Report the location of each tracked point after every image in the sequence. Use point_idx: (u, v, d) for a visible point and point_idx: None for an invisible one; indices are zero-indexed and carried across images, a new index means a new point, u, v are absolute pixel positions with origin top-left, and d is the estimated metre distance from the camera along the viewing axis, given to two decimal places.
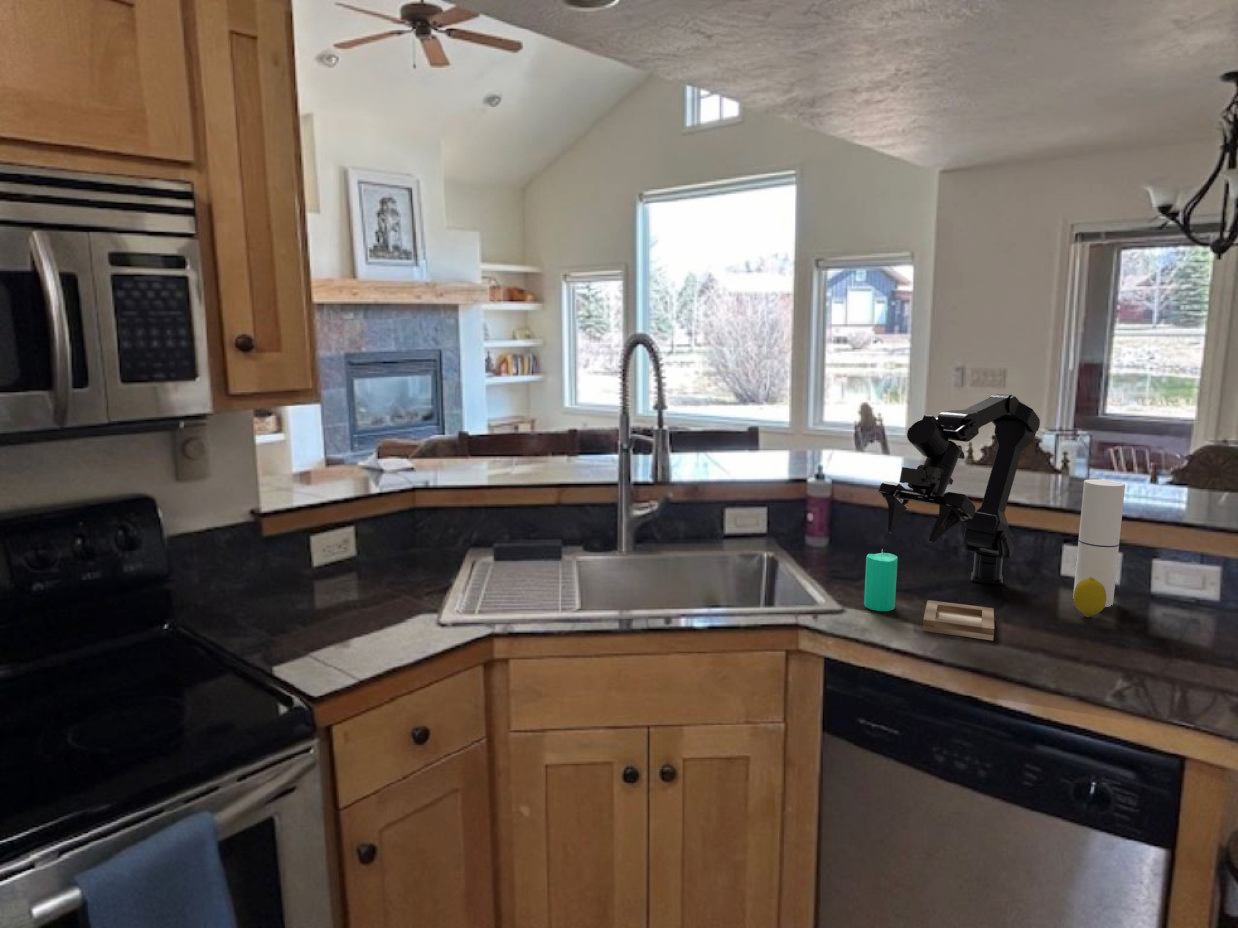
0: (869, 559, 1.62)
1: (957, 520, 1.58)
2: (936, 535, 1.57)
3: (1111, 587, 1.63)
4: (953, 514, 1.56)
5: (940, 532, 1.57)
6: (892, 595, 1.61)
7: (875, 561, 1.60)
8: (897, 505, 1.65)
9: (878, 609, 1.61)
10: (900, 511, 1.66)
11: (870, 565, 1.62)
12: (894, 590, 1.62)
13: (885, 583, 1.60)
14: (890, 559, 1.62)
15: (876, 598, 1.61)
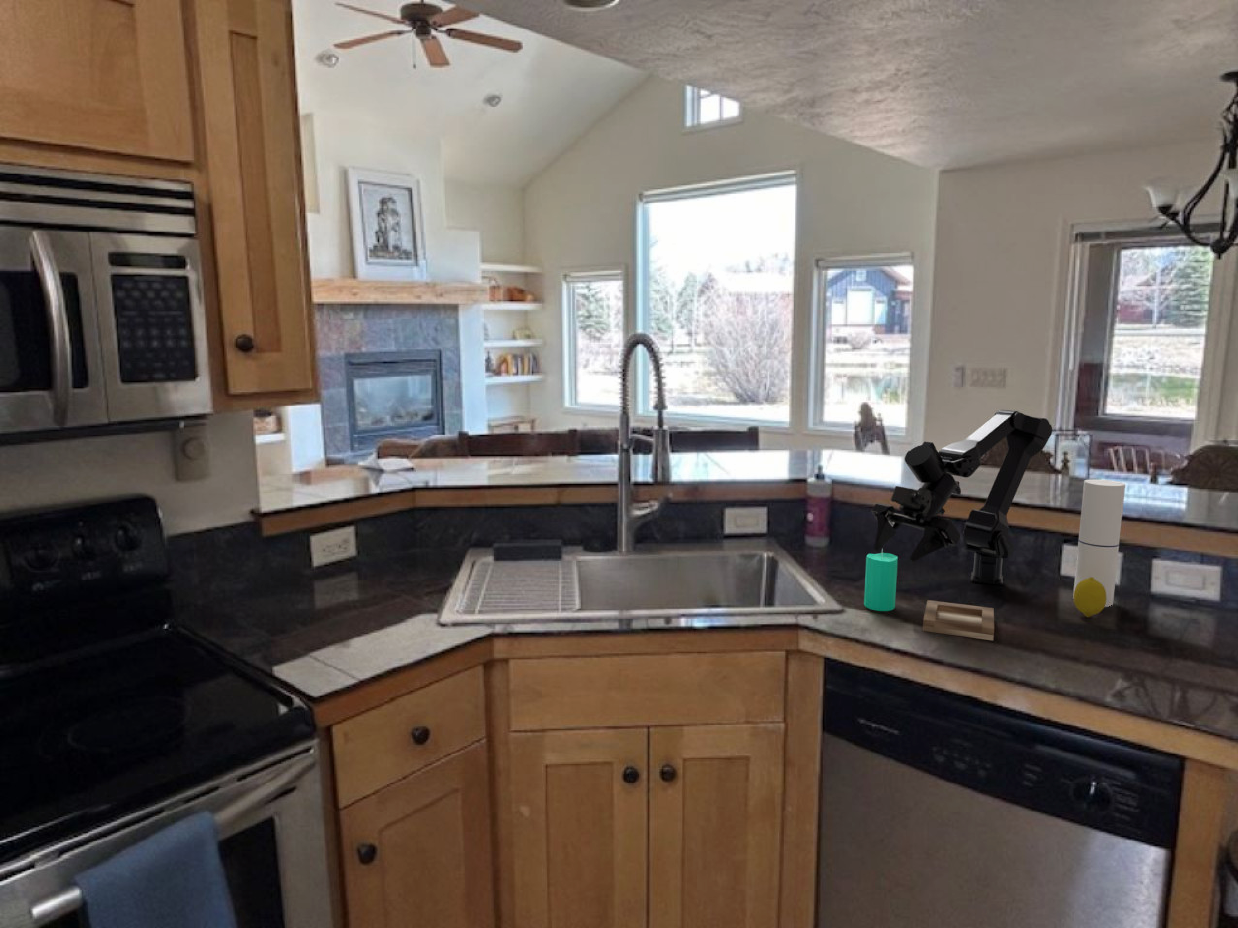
0: (869, 559, 1.62)
1: (941, 546, 1.61)
2: (917, 555, 1.60)
3: (1111, 587, 1.63)
4: (937, 538, 1.60)
5: (922, 553, 1.60)
6: (892, 595, 1.61)
7: (875, 561, 1.60)
8: (887, 526, 1.69)
9: (878, 609, 1.61)
10: (889, 533, 1.70)
11: (870, 565, 1.62)
12: (894, 590, 1.62)
13: (885, 583, 1.60)
14: (890, 559, 1.62)
15: (876, 598, 1.61)
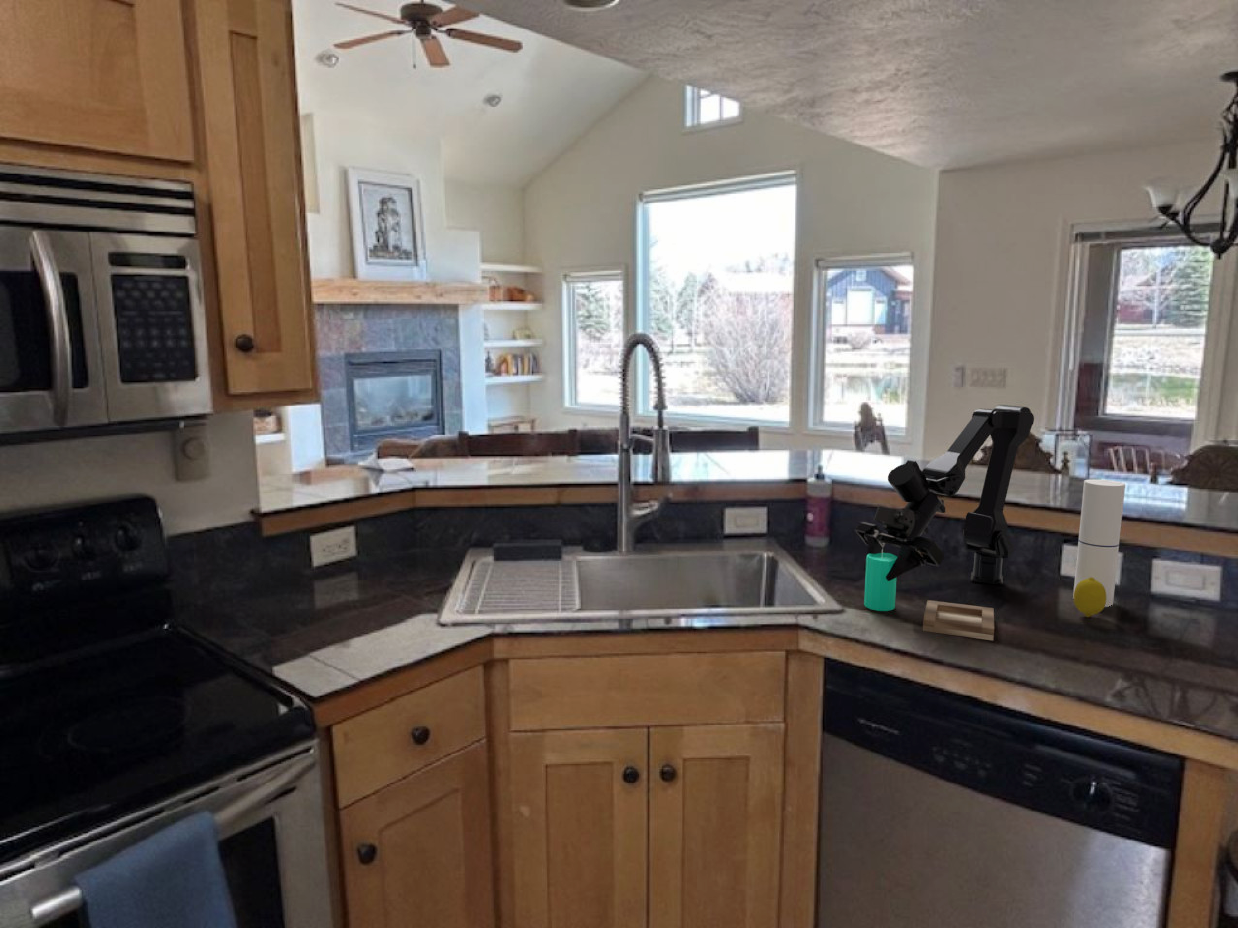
0: (869, 559, 1.62)
1: (917, 564, 1.61)
2: (893, 573, 1.60)
3: (1111, 587, 1.63)
4: (913, 556, 1.60)
5: (898, 572, 1.60)
6: (892, 595, 1.61)
7: (875, 561, 1.60)
8: (877, 547, 1.66)
9: (878, 609, 1.61)
10: None
11: (870, 565, 1.62)
12: (894, 590, 1.62)
13: (885, 583, 1.60)
14: (890, 559, 1.62)
15: (876, 598, 1.61)
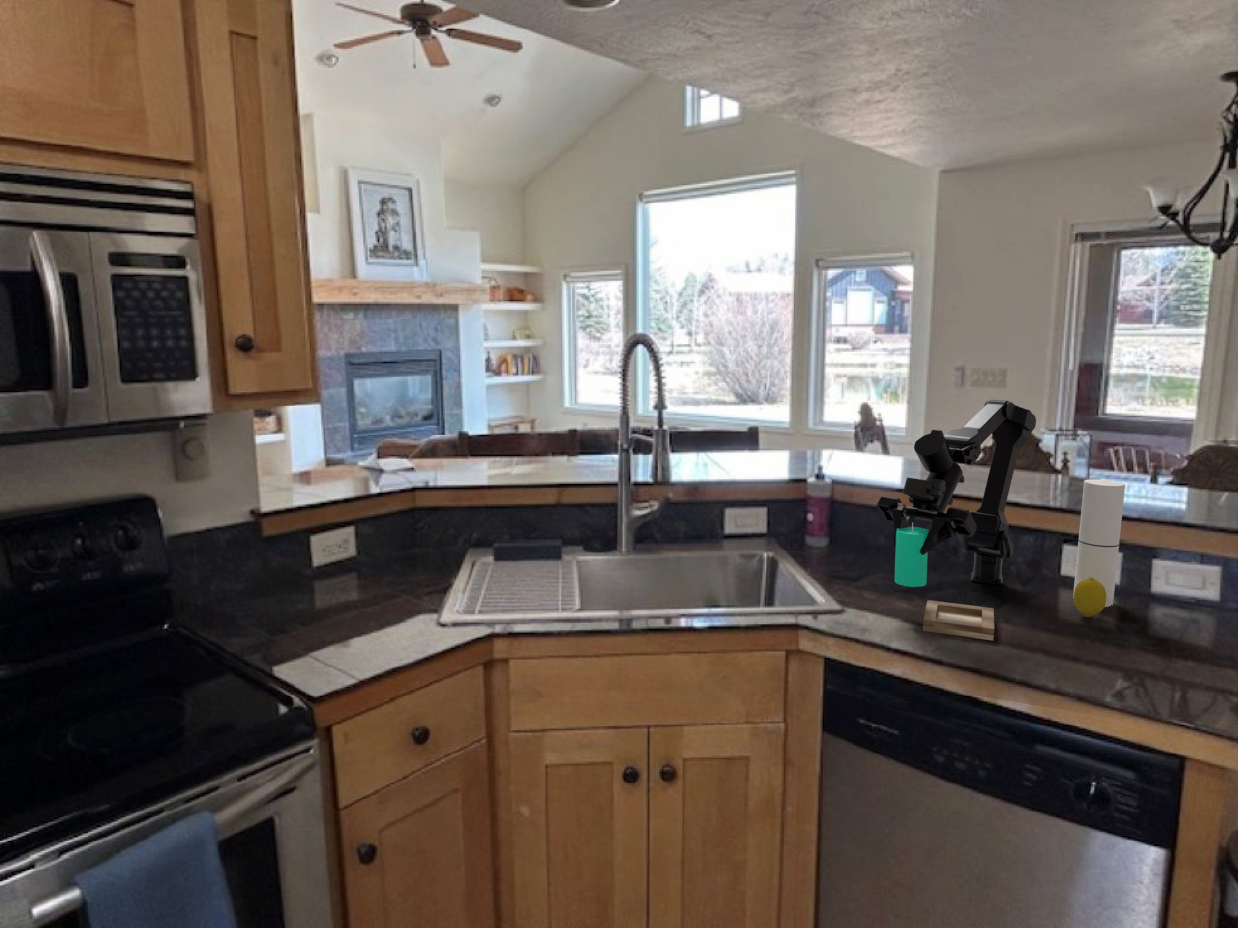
0: (901, 534, 1.55)
1: (948, 536, 1.56)
2: (927, 547, 1.54)
3: (1111, 587, 1.63)
4: (945, 528, 1.55)
5: (931, 545, 1.55)
6: (925, 569, 1.56)
7: (908, 535, 1.54)
8: (903, 521, 1.60)
9: (912, 585, 1.55)
10: None
11: (903, 540, 1.55)
12: (926, 564, 1.57)
13: (919, 558, 1.55)
14: (921, 532, 1.56)
15: (910, 574, 1.55)
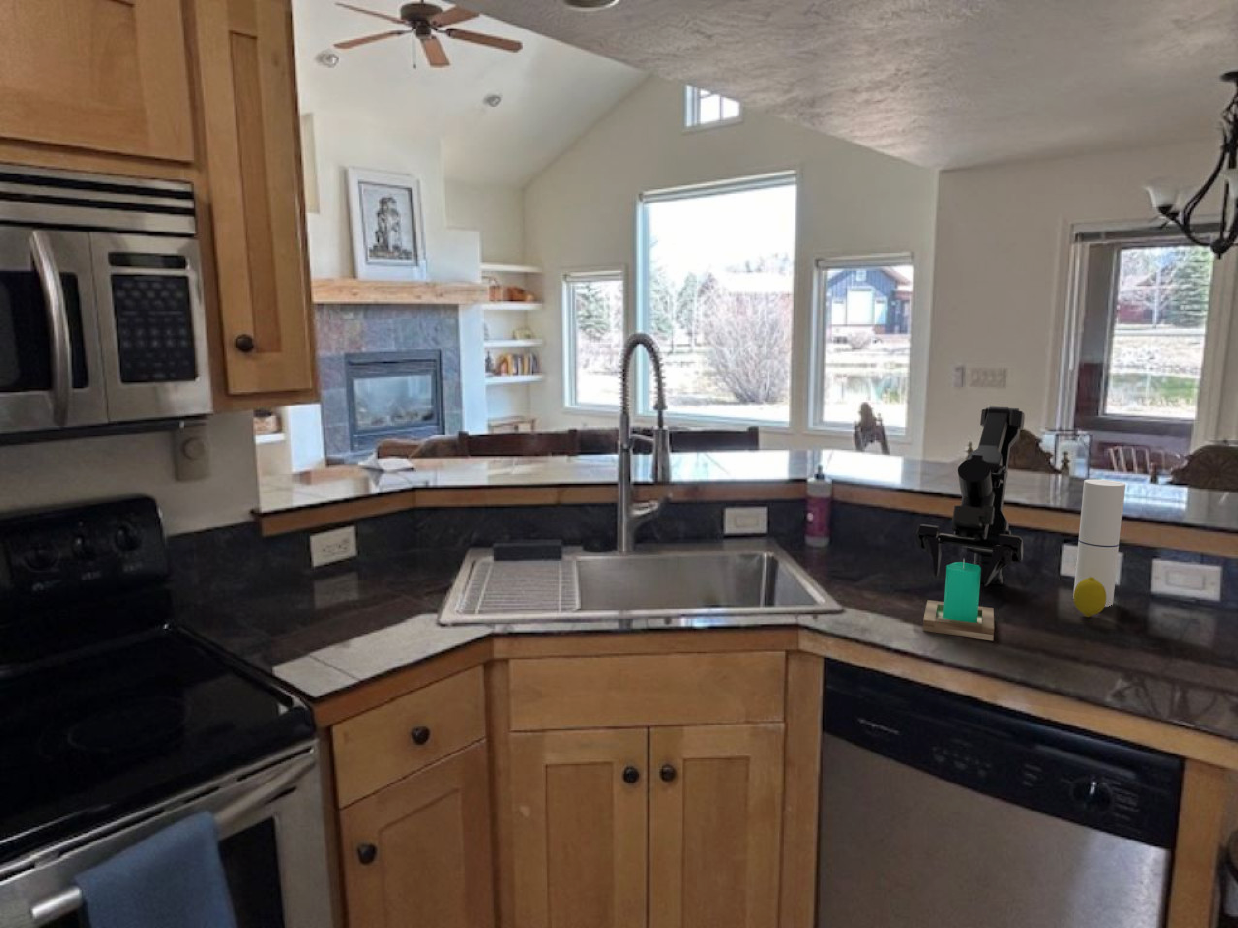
0: (957, 571, 1.50)
1: (1004, 564, 1.52)
2: (990, 578, 1.49)
3: (1111, 587, 1.63)
4: (1004, 557, 1.51)
5: (993, 575, 1.50)
6: (977, 606, 1.52)
7: (965, 573, 1.49)
8: (939, 549, 1.56)
9: None
10: (940, 556, 1.57)
11: (959, 578, 1.50)
12: None
13: (975, 595, 1.50)
14: (971, 568, 1.52)
15: (965, 612, 1.50)
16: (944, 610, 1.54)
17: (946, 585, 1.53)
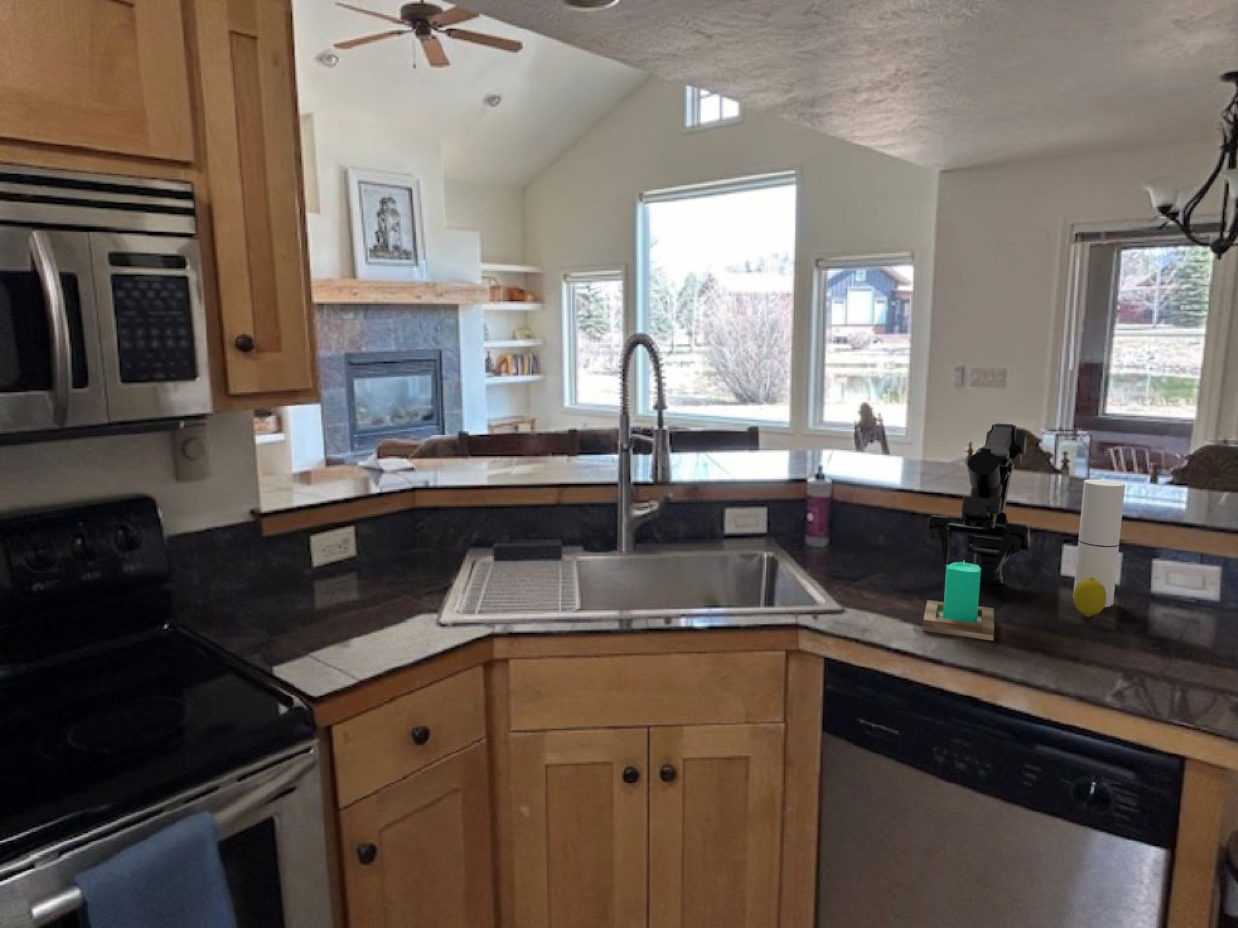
0: (957, 571, 1.50)
1: (1013, 552, 1.60)
2: (1000, 565, 1.57)
3: (1111, 587, 1.63)
4: (1013, 545, 1.58)
5: (1002, 562, 1.57)
6: (977, 606, 1.52)
7: (965, 573, 1.49)
8: (948, 538, 1.64)
9: None
10: (949, 545, 1.65)
11: (958, 578, 1.50)
12: None
13: (974, 595, 1.50)
14: (971, 568, 1.52)
15: (965, 612, 1.50)
16: (944, 610, 1.54)
17: (946, 585, 1.53)
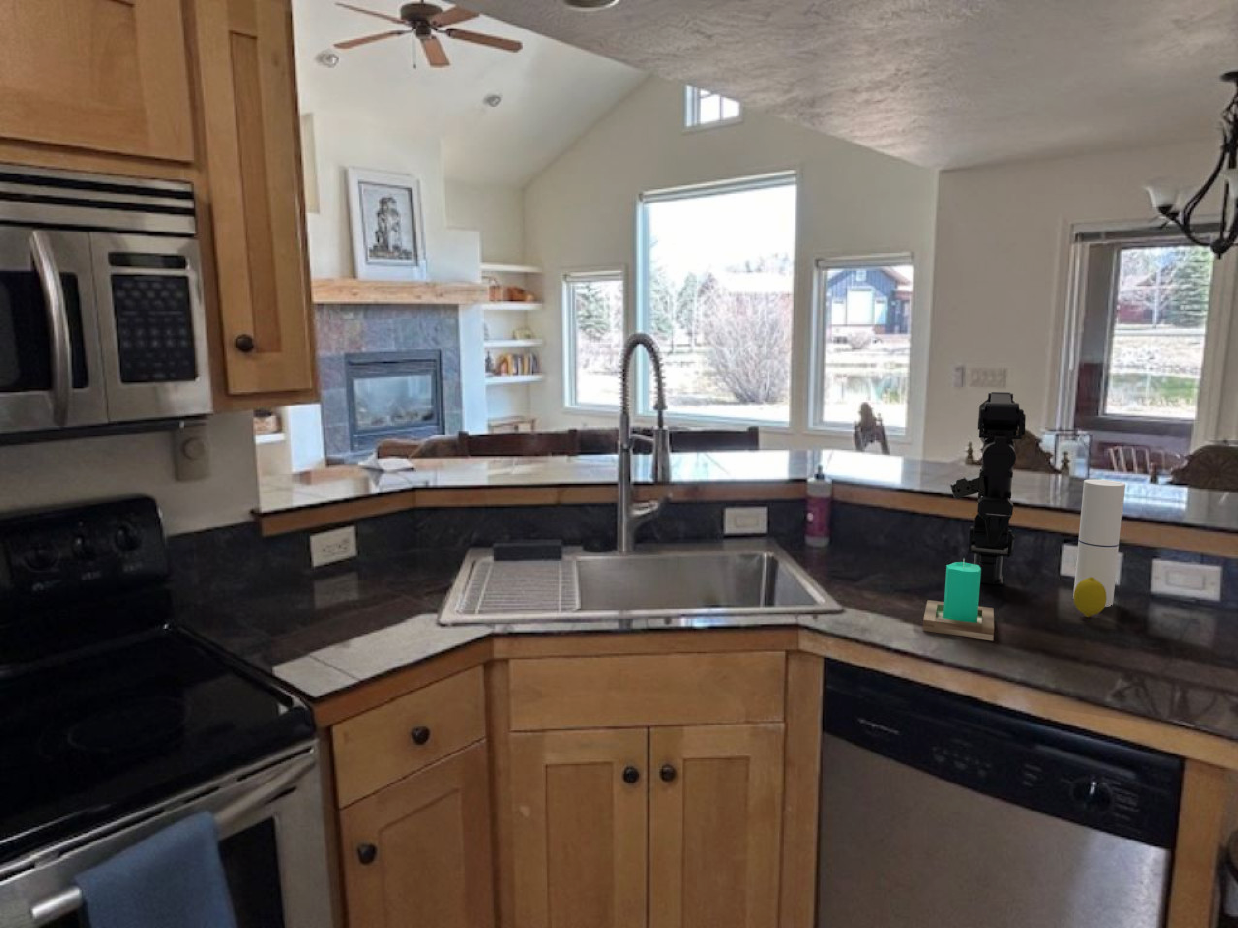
0: (957, 571, 1.50)
1: (1007, 518, 1.57)
2: (991, 539, 1.60)
3: (1111, 587, 1.63)
4: None
5: (994, 535, 1.59)
6: (977, 606, 1.52)
7: (965, 573, 1.49)
8: None
9: None
10: None
11: (959, 578, 1.50)
12: None
13: (974, 595, 1.50)
14: (971, 568, 1.52)
15: (965, 612, 1.50)
16: (944, 610, 1.54)
17: (946, 585, 1.53)
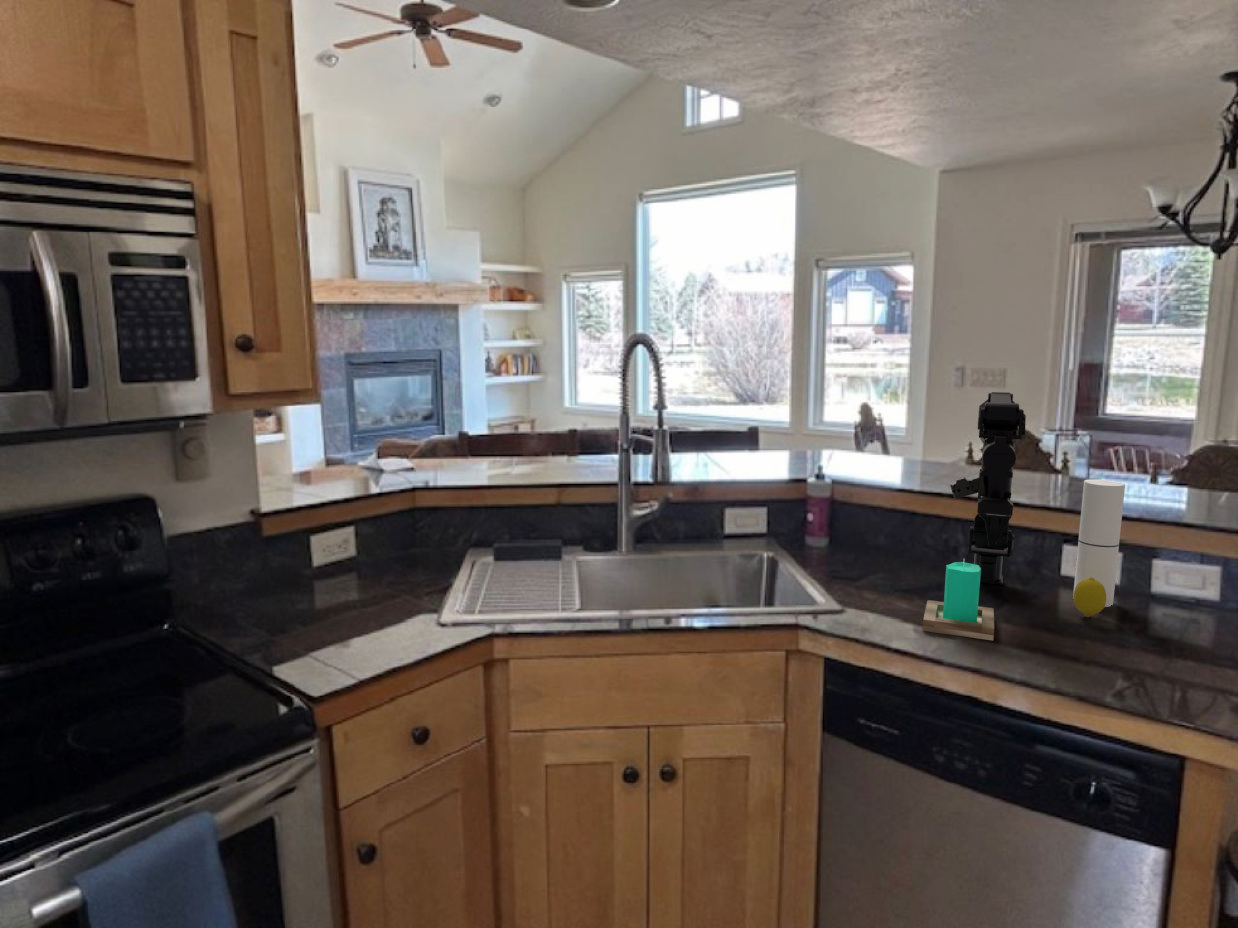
0: (957, 571, 1.50)
1: (1007, 518, 1.57)
2: (991, 539, 1.60)
3: (1111, 587, 1.63)
4: None
5: (994, 535, 1.59)
6: (977, 606, 1.52)
7: (965, 573, 1.49)
8: None
9: None
10: None
11: (958, 578, 1.50)
12: None
13: (974, 595, 1.50)
14: (971, 568, 1.52)
15: (965, 612, 1.50)
16: (944, 610, 1.54)
17: (946, 585, 1.53)
